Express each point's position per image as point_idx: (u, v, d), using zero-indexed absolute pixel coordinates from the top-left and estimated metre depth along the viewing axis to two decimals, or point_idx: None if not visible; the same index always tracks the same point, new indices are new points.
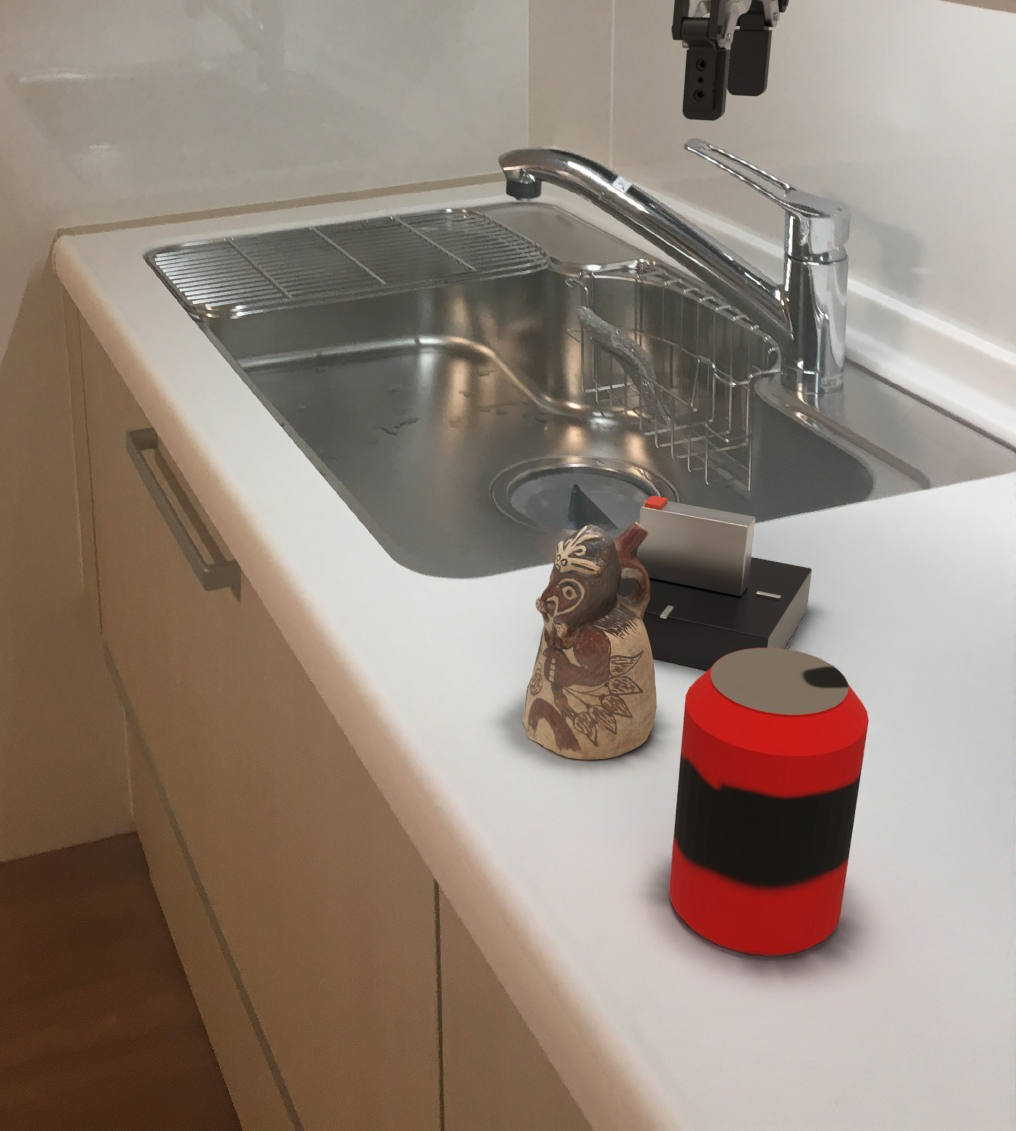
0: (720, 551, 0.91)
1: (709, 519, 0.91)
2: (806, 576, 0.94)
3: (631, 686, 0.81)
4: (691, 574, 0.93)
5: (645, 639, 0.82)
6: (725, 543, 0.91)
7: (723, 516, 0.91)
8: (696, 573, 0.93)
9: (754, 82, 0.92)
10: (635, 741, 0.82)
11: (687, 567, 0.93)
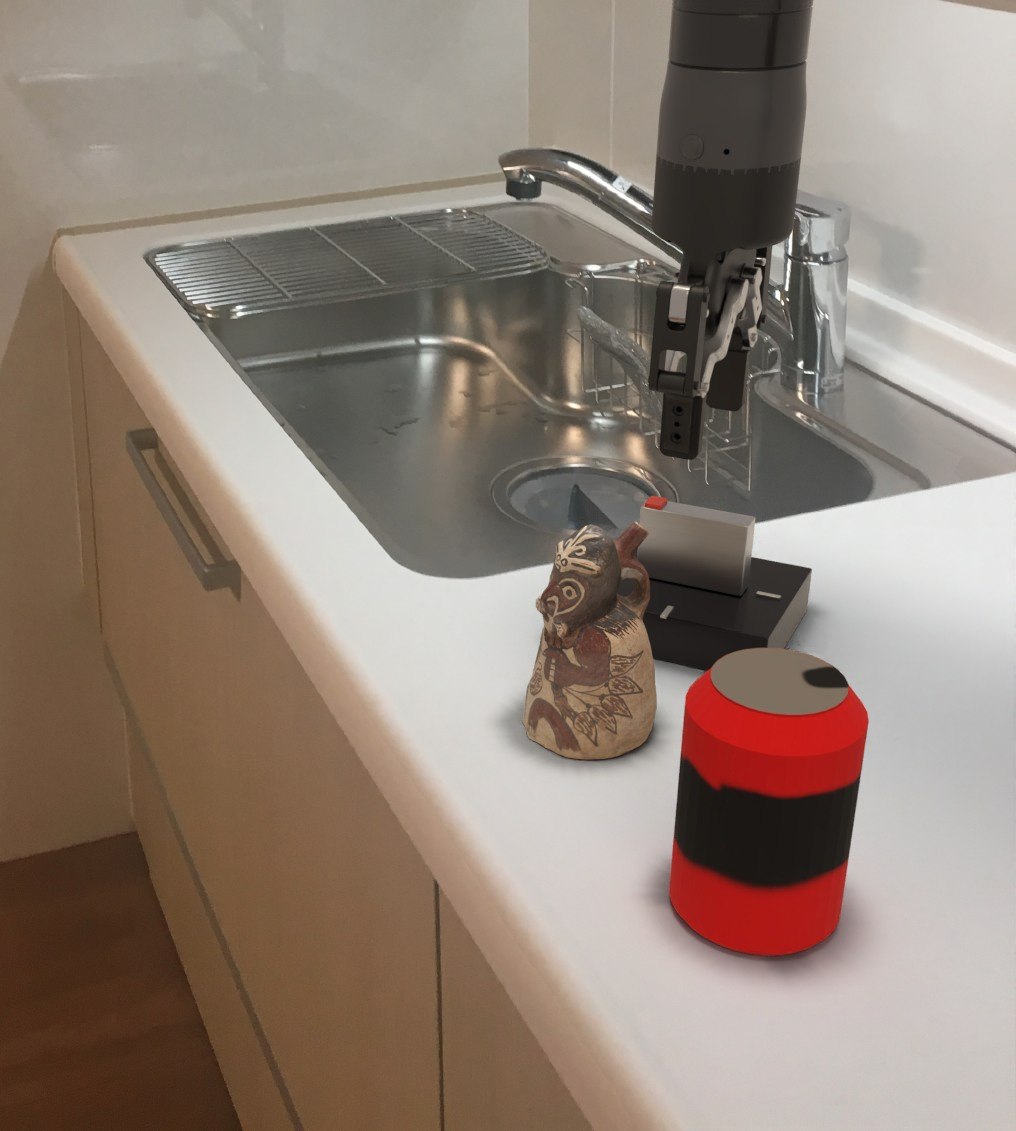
0: (720, 551, 0.91)
1: (709, 519, 0.91)
2: (806, 576, 0.94)
3: (631, 686, 0.81)
4: (691, 574, 0.93)
5: (645, 639, 0.82)
6: (725, 543, 0.91)
7: (723, 516, 0.91)
8: (696, 573, 0.93)
9: (732, 398, 0.92)
10: (635, 741, 0.82)
11: (687, 567, 0.93)
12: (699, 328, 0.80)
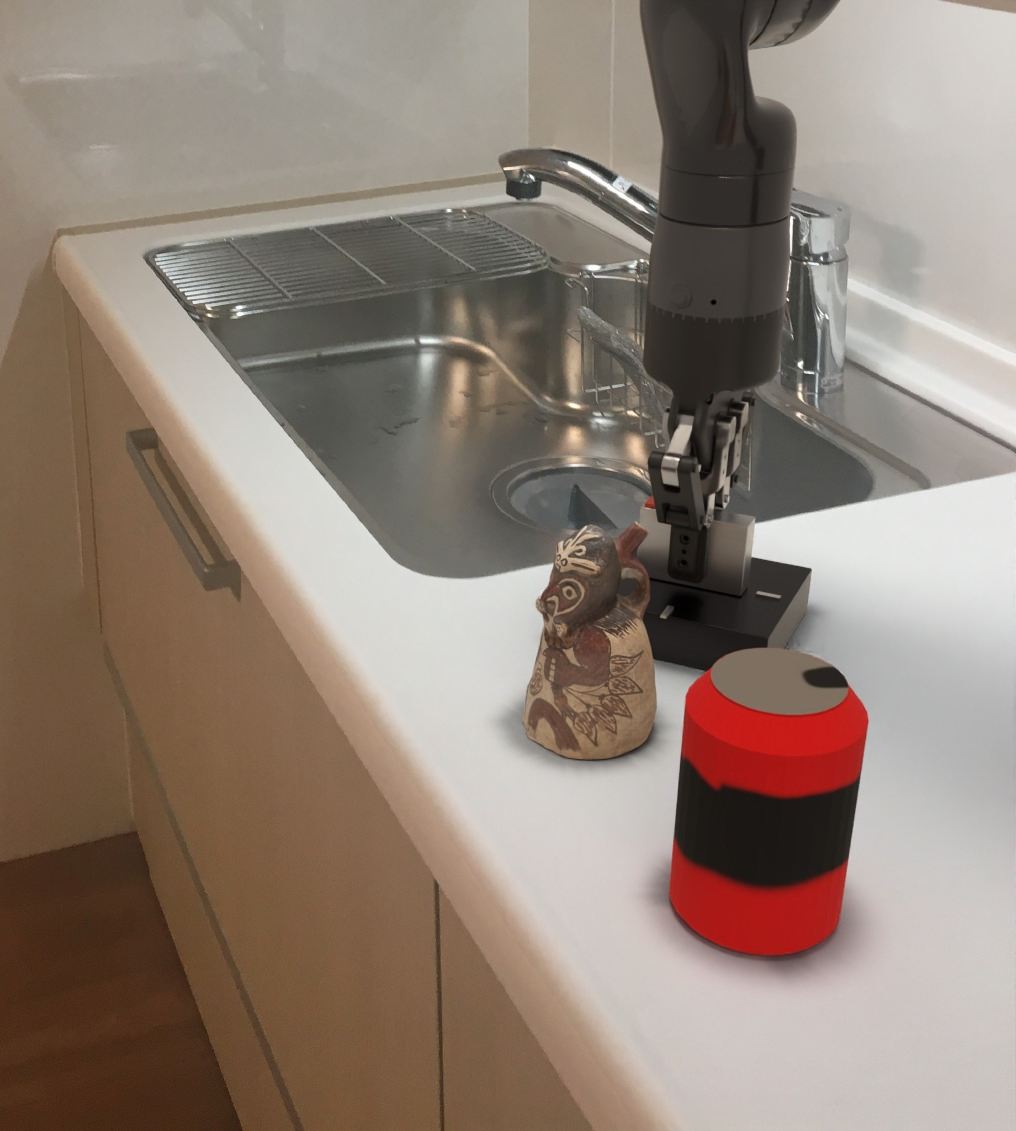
0: (720, 551, 0.91)
1: None
2: (806, 576, 0.94)
3: (631, 686, 0.81)
4: None
5: (645, 639, 0.82)
6: (725, 543, 0.91)
7: (723, 516, 0.91)
8: None
9: None
10: (635, 741, 0.82)
11: None
12: (693, 491, 0.86)
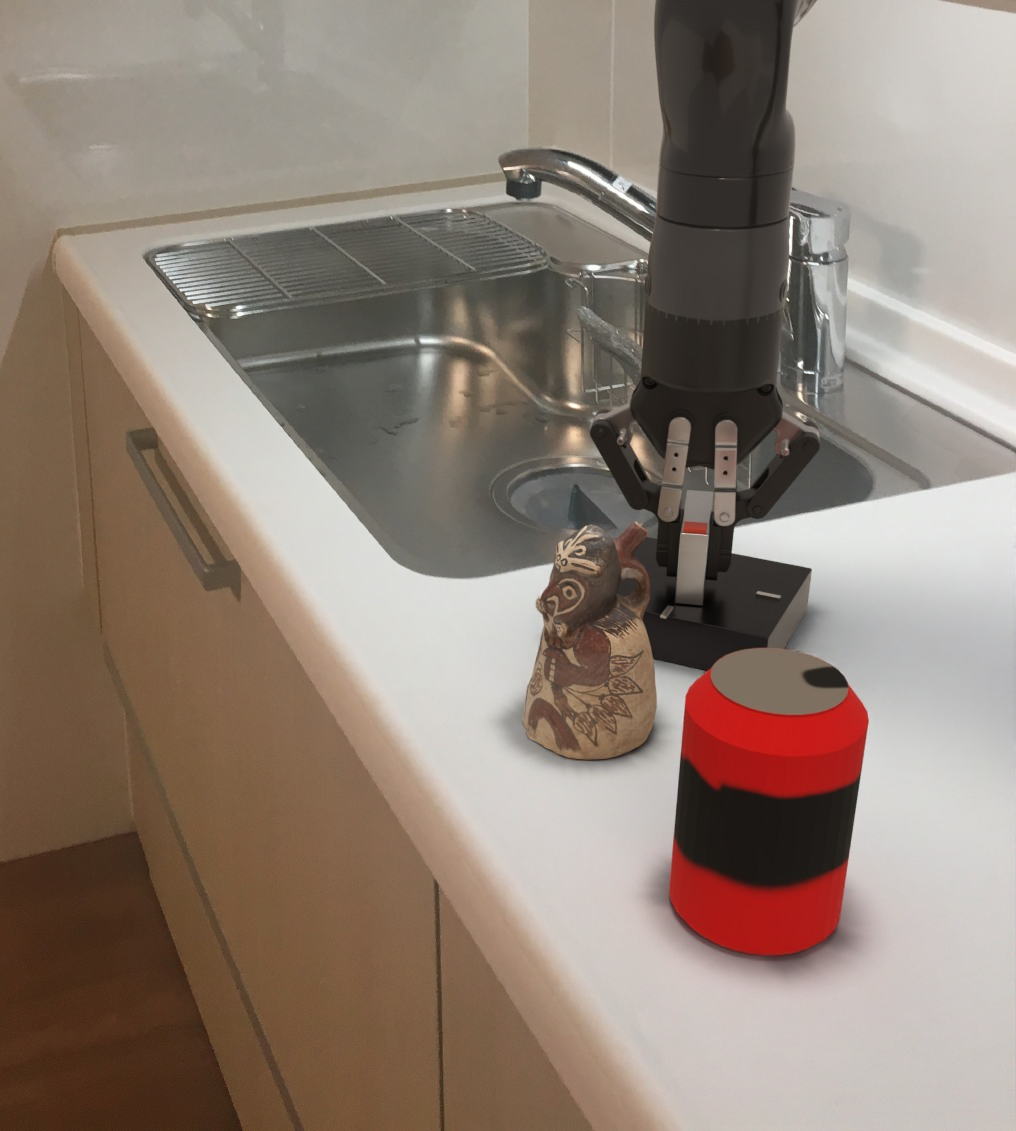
0: None
1: (710, 506, 0.93)
2: (806, 576, 0.94)
3: (631, 686, 0.81)
4: None
5: (645, 639, 0.82)
6: None
7: (700, 501, 0.93)
8: None
9: None
10: (635, 741, 0.82)
11: None
12: None
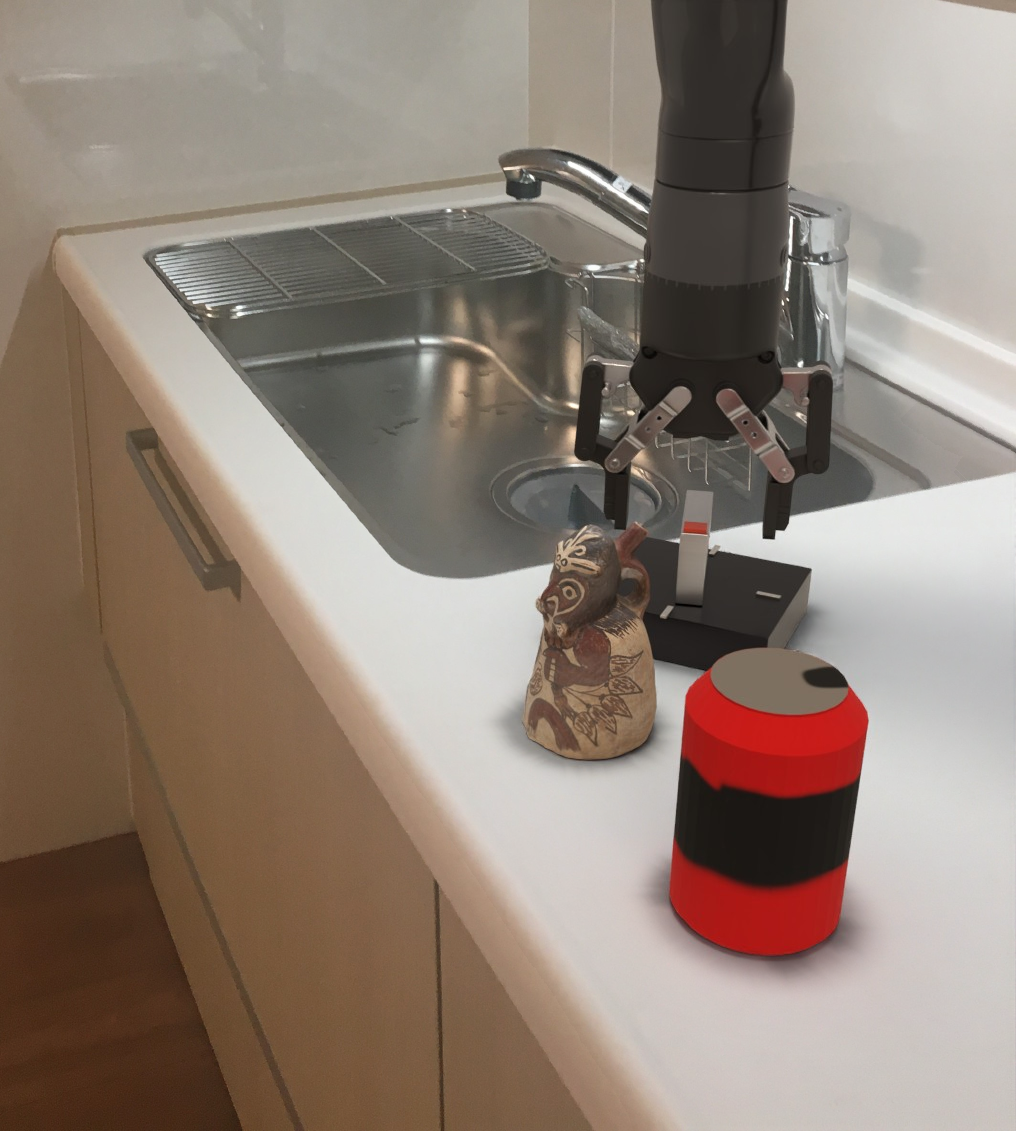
0: None
1: (710, 506, 0.93)
2: (806, 576, 0.94)
3: (631, 686, 0.81)
4: (706, 568, 0.94)
5: (645, 639, 0.82)
6: None
7: (700, 501, 0.93)
8: None
9: None
10: (635, 741, 0.82)
11: None
12: None
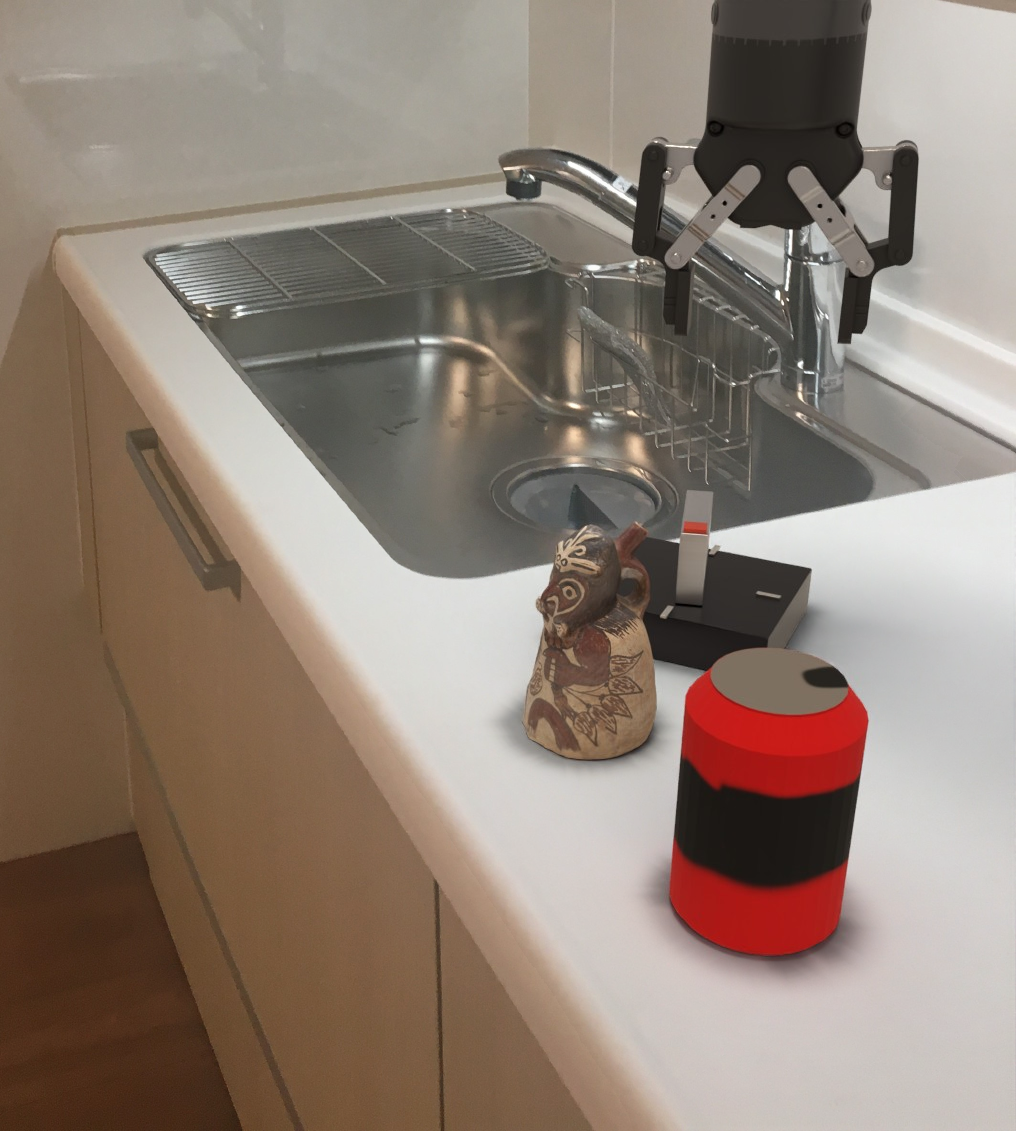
0: None
1: (710, 506, 0.93)
2: (806, 576, 0.94)
3: (631, 686, 0.81)
4: (706, 568, 0.94)
5: (645, 639, 0.82)
6: None
7: (700, 501, 0.93)
8: None
9: (690, 316, 0.86)
10: (635, 741, 0.82)
11: None
12: None
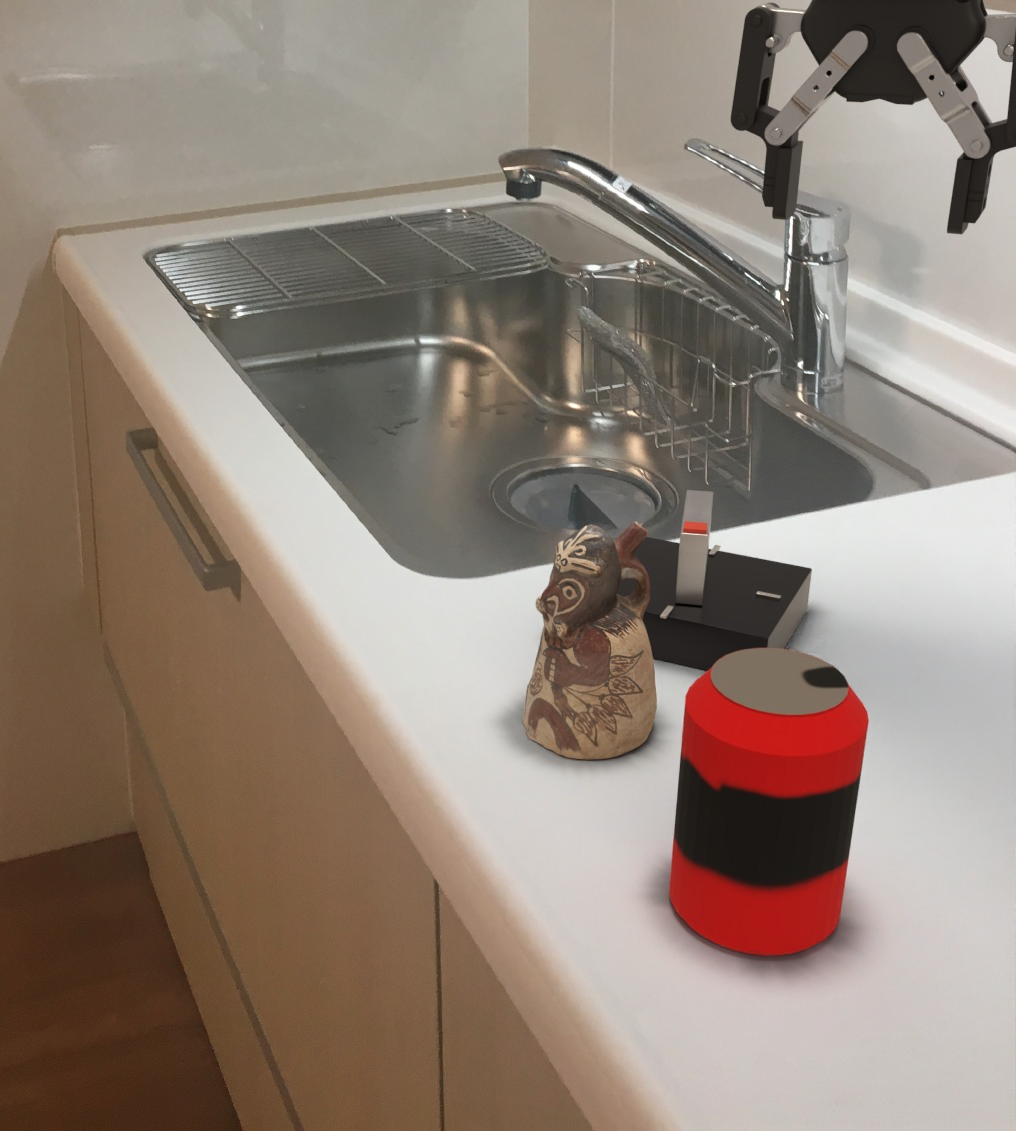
0: None
1: (710, 506, 0.93)
2: (806, 576, 0.94)
3: (631, 686, 0.81)
4: (706, 568, 0.94)
5: (645, 639, 0.82)
6: None
7: (700, 501, 0.93)
8: None
9: (794, 199, 0.81)
10: (635, 741, 0.82)
11: None
12: None
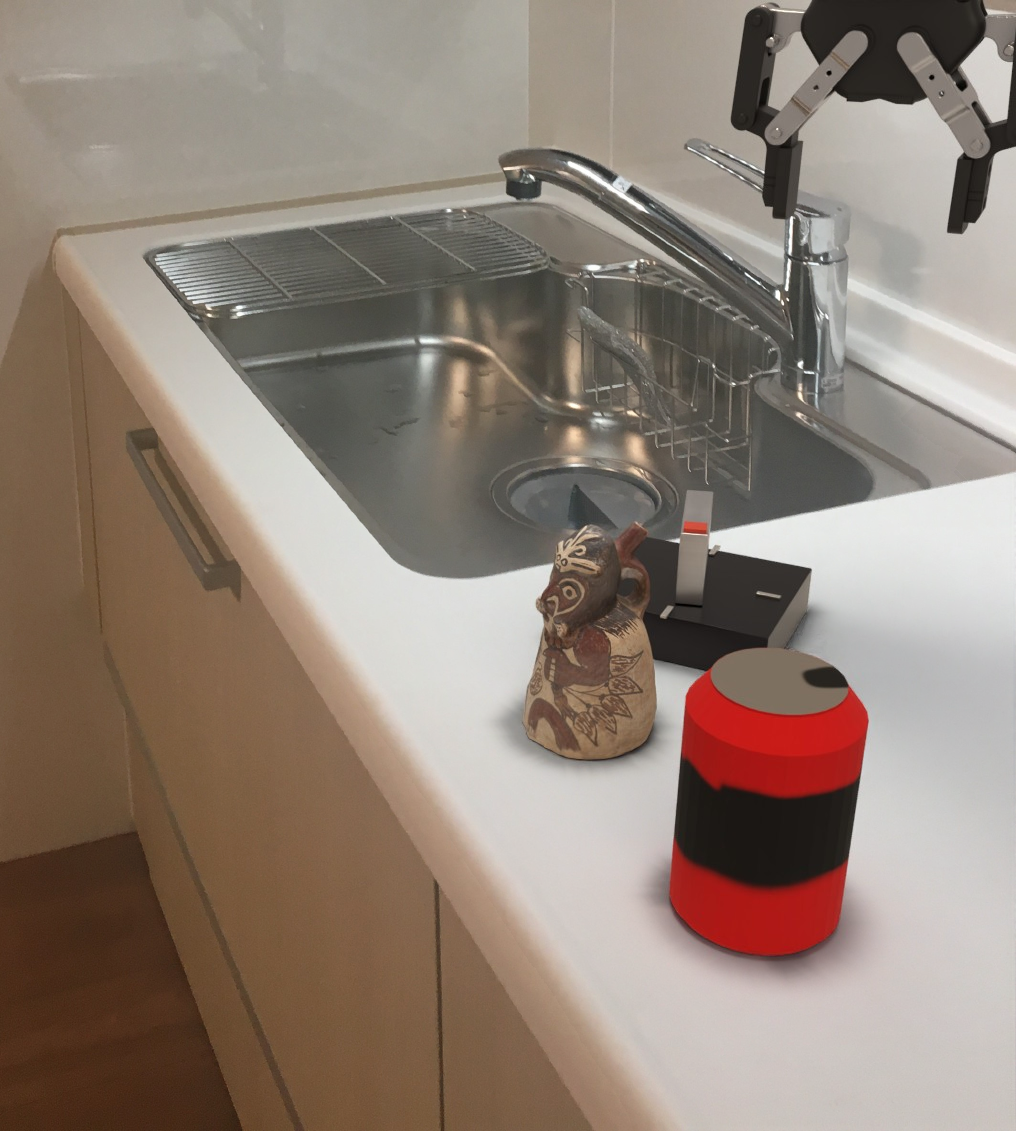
0: None
1: (710, 506, 0.93)
2: (806, 576, 0.94)
3: (631, 686, 0.81)
4: (706, 568, 0.94)
5: (645, 639, 0.82)
6: None
7: (700, 501, 0.93)
8: None
9: (794, 199, 0.81)
10: (635, 741, 0.82)
11: None
12: None
